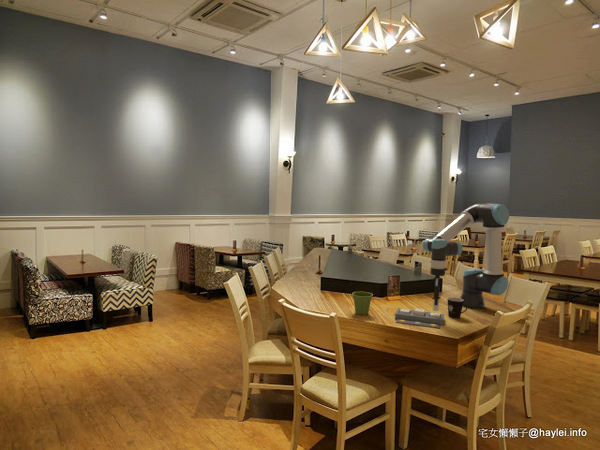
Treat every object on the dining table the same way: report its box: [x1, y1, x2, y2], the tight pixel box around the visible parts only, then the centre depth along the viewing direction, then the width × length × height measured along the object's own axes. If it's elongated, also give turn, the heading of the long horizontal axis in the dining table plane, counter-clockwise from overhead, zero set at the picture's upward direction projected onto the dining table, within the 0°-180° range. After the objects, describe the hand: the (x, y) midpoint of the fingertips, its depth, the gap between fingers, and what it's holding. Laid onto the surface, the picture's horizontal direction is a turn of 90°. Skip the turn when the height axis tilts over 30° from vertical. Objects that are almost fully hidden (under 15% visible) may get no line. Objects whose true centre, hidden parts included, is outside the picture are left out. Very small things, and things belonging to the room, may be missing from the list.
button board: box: [394, 307, 445, 326], centre depth 237 cm, size 25×12×3 cm, turn 69°
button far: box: [400, 308, 411, 314], centre depth 240 cm, size 5×5×2 cm
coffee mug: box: [446, 297, 468, 319], centre depth 243 cm, size 12×9×10 cm
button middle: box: [414, 308, 426, 316], centre depth 237 cm, size 5×5×2 cm
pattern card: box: [395, 319, 441, 329], centre depth 229 cm, size 22×6×1 cm, turn 69°
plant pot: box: [351, 291, 374, 316], centre depth 244 cm, size 12×12×11 cm
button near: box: [430, 312, 441, 318], centre depth 235 cm, size 5×5×2 cm
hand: (435, 310), depth 234 cm, fingers closed
